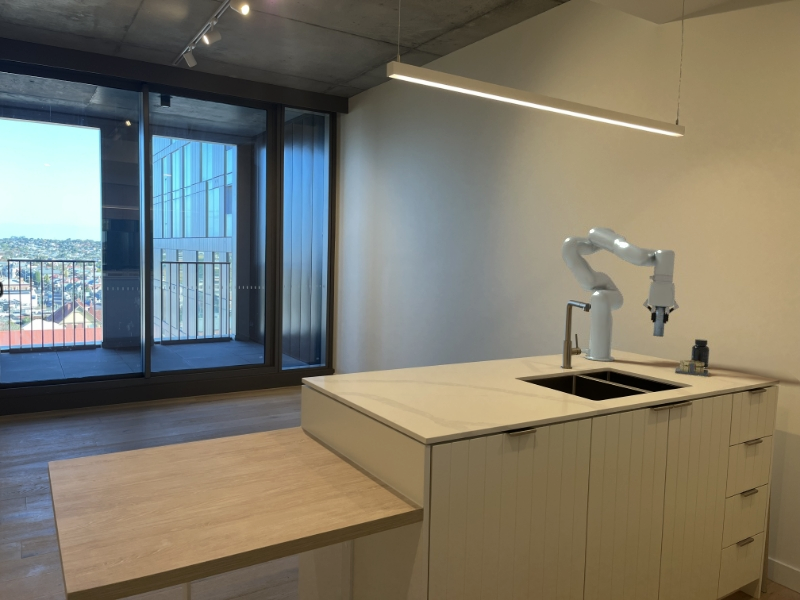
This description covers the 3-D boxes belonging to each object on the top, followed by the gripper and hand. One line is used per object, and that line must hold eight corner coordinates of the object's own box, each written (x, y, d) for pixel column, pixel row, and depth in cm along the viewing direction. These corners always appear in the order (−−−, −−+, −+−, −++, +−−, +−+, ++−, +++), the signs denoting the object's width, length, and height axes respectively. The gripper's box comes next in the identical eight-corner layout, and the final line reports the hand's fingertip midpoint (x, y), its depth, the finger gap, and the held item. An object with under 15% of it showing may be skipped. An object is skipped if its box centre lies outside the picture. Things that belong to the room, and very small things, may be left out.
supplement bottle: (687, 366, 268) (688, 338, 267) (698, 365, 271) (699, 338, 270) (700, 368, 262) (702, 340, 261) (711, 368, 265) (713, 340, 264)
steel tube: (652, 335, 257) (655, 302, 256) (653, 335, 260) (656, 302, 259) (663, 336, 255) (666, 303, 254) (663, 336, 259) (666, 303, 258)
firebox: (675, 373, 247) (675, 362, 247) (675, 369, 258) (676, 358, 257) (708, 376, 242) (709, 365, 241) (707, 372, 252) (708, 361, 252)
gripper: (640, 278, 256) (637, 321, 257) (684, 280, 249) (681, 325, 250) (642, 278, 263) (638, 320, 264) (685, 280, 256) (681, 324, 257)
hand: (659, 322), depth 257 cm, fingers closed on steel tube, 4 cm apart
